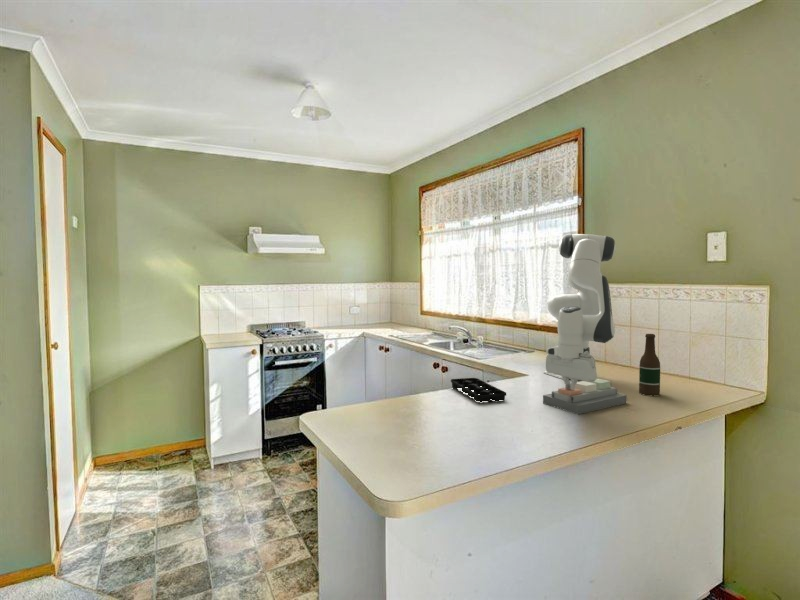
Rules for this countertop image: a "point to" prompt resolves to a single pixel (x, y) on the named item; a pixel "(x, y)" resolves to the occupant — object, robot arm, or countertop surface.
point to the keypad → (586, 400)
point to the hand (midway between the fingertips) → (570, 389)
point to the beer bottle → (649, 369)
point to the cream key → (585, 386)
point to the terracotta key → (569, 391)
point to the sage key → (601, 384)
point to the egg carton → (478, 389)
